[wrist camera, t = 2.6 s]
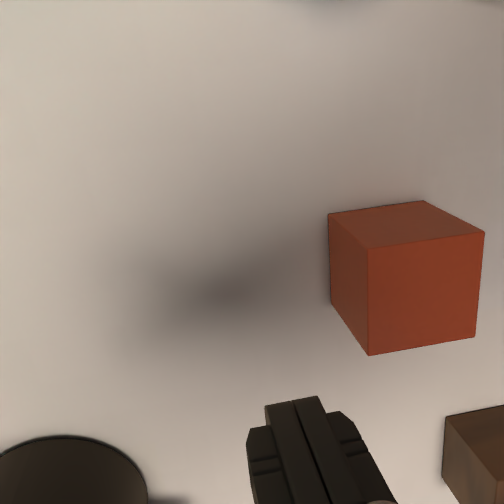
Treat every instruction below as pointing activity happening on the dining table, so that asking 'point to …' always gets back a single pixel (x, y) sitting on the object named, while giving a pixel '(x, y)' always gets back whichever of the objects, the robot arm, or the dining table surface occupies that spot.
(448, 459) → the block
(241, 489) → the dining table surface
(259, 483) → the robot arm
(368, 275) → the middle block
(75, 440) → the mug
